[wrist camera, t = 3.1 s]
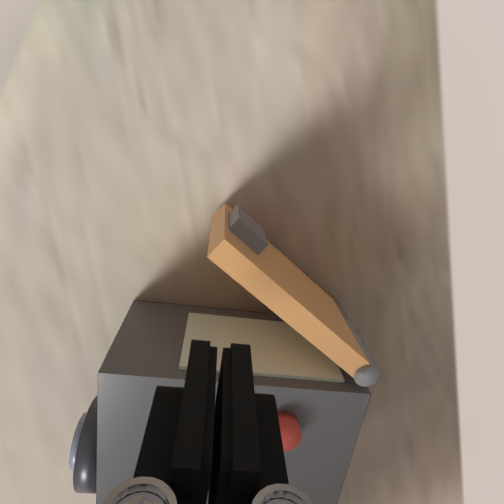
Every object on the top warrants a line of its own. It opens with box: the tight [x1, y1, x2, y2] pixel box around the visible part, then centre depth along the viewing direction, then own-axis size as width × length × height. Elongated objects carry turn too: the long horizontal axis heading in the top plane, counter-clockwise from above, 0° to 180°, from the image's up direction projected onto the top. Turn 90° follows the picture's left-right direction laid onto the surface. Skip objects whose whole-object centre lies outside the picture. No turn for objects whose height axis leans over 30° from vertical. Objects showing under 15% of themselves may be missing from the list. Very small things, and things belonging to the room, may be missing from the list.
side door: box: [207, 203, 380, 387], centre depth 17 cm, size 2×9×6 cm, turn 47°
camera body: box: [70, 300, 371, 504], centre depth 19 cm, size 10×13×7 cm
